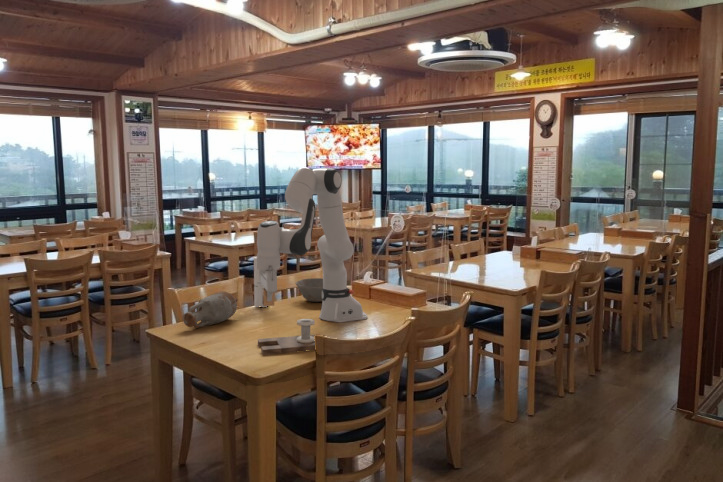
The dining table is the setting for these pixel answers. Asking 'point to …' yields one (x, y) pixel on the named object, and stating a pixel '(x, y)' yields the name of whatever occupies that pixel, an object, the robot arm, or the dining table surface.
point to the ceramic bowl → (311, 289)
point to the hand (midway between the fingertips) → (268, 299)
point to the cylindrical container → (257, 286)
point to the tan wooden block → (264, 298)
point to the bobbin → (305, 330)
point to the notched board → (283, 345)
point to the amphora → (211, 310)
